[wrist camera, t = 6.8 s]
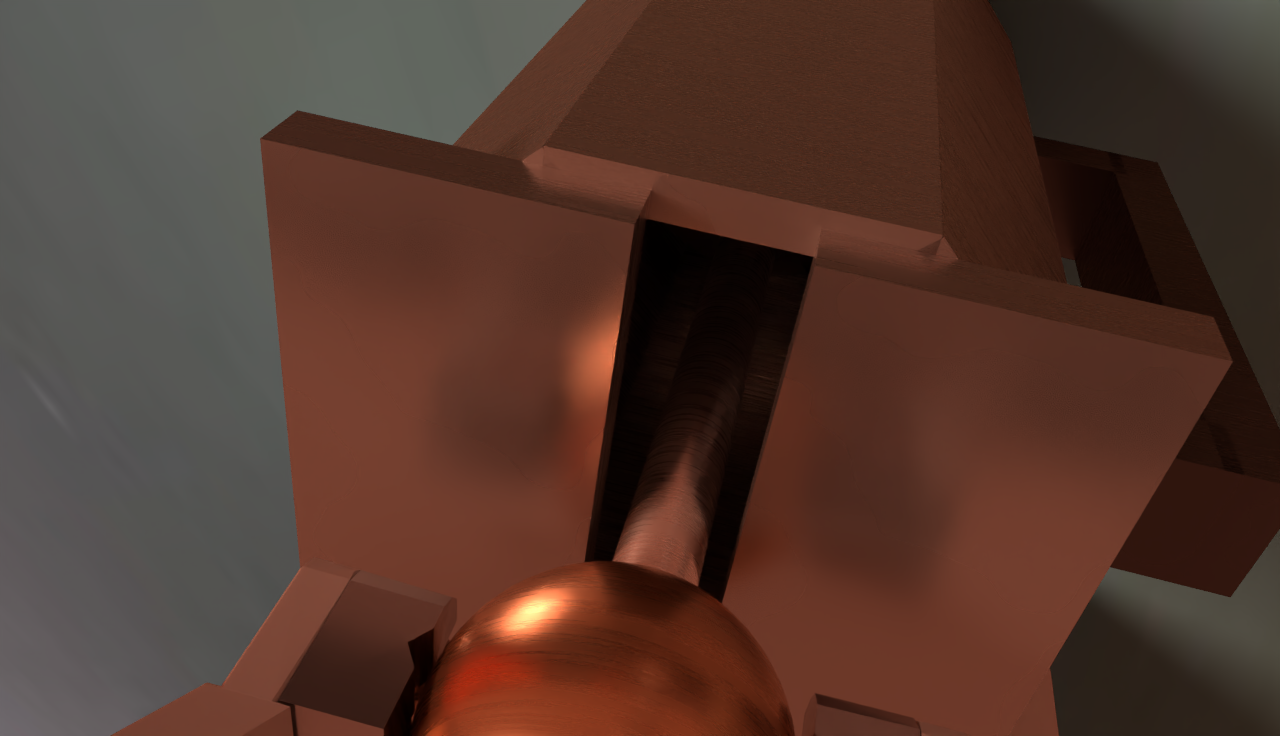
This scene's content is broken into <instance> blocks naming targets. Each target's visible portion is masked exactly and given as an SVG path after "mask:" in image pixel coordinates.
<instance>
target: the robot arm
mask: <svg viewBox="0 0 1280 736" xmlns="http://www.w3.org/2000/svg"><path fill="white" fill-rule="evenodd" d="M456 621H457V598H453V597H450V596H447V595H443V594H440V593H437V592H433V591H430V590H426V589H423V588H420V587H416V586H413V585H410V584H406V583H403V582H400V581H396V580H393V579H389V578H386V577H383V576H379V575H376V574H373V573H369V572H366V571H363V570H359V569H356V568H352V567H349V566H345V565H341V564H338V563H334V562H331V561H327V560H323V559H320V558H316V557H314V558H312V559H311V560H310V561H309V562H308V563H306V564H305V565H304V566H303V567H301V568H300V569H299V571H298V572H297V574H296V575H295V577H294V578H293V580H292V581H291V583H290V584H289V586H288V587H287V589H286V590H285V592H284V593H283V595H282V596H281V598H280V599H279V601H278V602H277V604H276V605H275V607H274V608H273V610H272V611H271V613H270V614H269V616H268V617H267V619H266V620H265V622H264V623H263V625H262V626H261V628H260V629H259V631H258V632H257V634H256V635H255V637H254V638H253V640H252V641H251V643H250V644H249V646H248V647H247V648H246V650H245V651H244V653H243V654H242V656H241V657H240V659H239V660H238V662H237V663H236V665H235V666H234V668H233V669H232V671H231V672H230V674H229V675H228V677H227V678H226V680H225V681H224V683H223V684H222V686H219V685H215V684H211V683H205V684H204V685H202V686H200V687H198V688H196V689H194V690H193V691H191V692H189V693H187V694H185V695H183V696H182V697H180V698H178V699H176V700H174V701H173V702H171V703H169V704H167V705H165V706H163V707H162V708H160V709H158V710H156V711H154V712H153V713H151V714H149V715H147V716H145V717H143V718H142V719H140V720H138V721H136V722H134V723H132V724H131V725H129V726H127V727H125V728H123V729H122V730H120V731H118V732H116V733H114V734H112V735H111V736H409V735H410V730H411V726H412V721H413V717H414V712H415V710H416V707H417V704H418V701H419V698H420V696H421V693H422V691H423V688H424V685H425V683H426V680H427V678H428V676H429V674H430V672H431V670H432V669H433V667H434V665H435V663H436V662H437V660H438V658H439V657H440V655H441V653H442V652H443V650H444V649H445V647H446V645H447V644H448V643H449V642H450V640H449V637H450V634H451V632H452V630H453V628H454V626H455V624H456ZM802 736H970V735H969V734H967V733H964V732H960V731H956V730H952V729H949V728H945V727H941V726H937V725H933V724H929V723H925V722H922V721H915V719H914V718H912V717H908V716H904V715H900V714H896V713H892V712H888V711H885V710H881V709H877V708H873V707H869V706H865V705H861V704H857V703H853V702H849V701H845V700H841V699H837V698H833V697H829V696H826V695H822V694H818V693H815V694H814V695H813V696H812V698H811V699H810V701H809V704H808V706H807V709H806V711H805V714H804V720H803V729H802Z"/></svg>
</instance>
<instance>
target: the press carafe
mask: <svg viewBox="0 0 1280 736" xmlns="http://www.w3.org/2000/svg"><path fill="white" fill-rule="evenodd" d="M260 141H261V152H262V163H263V173H264V184H265V195H266V205H267V216H268V227H269V237H270V248H271V259H272V269H273V280H274V291H275V301H276V312H277V323H278V333H279V344H280V355H281V366H282V376H283V387H284V398H285V408H286V419H287V430H288V440H289V451H290V462H291V472H292V483H293V494H294V504H295V515H296V526H297V536H298V547H299V558H300V568H301V567H303V566H304V565H305V564H306V563H308V562H309V561H310V560H311V559H312V558H314V557H316V558H320V559H323V560H327V561H331V562H334V563H338V564H341V565H345V566H349V567H352V568H356V569H359V570H363V571H366V572H369V573H373V574H376V575H379V576H383V577H386V578H389V579H393V580H396V581H400V582H403V583H406V584H410V585H413V586H416V587H420V588H423V589H426V590H430V591H433V592H437V593H440V594H443V595H447V596H450V597H453V598H457V621H456V624H455V626H454V628H453V630H452V632H451V634H450V637H449V640H451V639H452V638H453V637H454V635H455V634H456V633H457V631H458V630H459V629H460V628H461V627H462V626H463V625H464V624H465V623H466V622H467V621H468V620H469V619H470V617H472V616H473V615H474V614H475V613H476V612H477V611H478V610H479V609H480V608H481V607H482V606H484V605H485V604H486V603H487V602H489V601H490V600H491V599H493V598H494V597H496V596H497V595H499V594H500V593H502V592H503V591H505V590H506V589H508V588H509V587H511V586H512V585H514V584H516V583H518V582H520V581H522V580H524V579H526V578H529V577H531V576H534V575H536V574H539V573H541V572H544V571H547V570H550V569H553V568H556V567H560V566H566V565H571V564H577V563H583V562H595V561H612V560H613V557H614V554H615V551H616V548H617V545H618V542H619V539H620V536H621V533H622V530H623V527H624V524H625V521H626V518H627V515H628V512H629V509H630V506H631V503H632V500H633V497H634V494H635V491H636V488H637V485H638V482H639V479H640V476H641V473H642V470H643V467H644V464H645V461H646V458H647V455H648V452H649V449H650V446H651V443H652V440H653V437H654V434H655V431H656V428H657V425H658V422H659V419H660V416H661V413H662V410H663V407H664V404H665V401H666V398H667V395H668V392H669V389H670V386H671V383H672V380H673V377H674V374H675V371H676V368H677V365H678V362H679V359H680V356H681V353H682V350H683V347H684V344H685V341H686V338H687V335H688V332H689V329H690V326H691V323H692V320H693V317H694V314H695V311H696V308H697V305H698V302H699V299H700V296H701V293H702V290H703V287H704V284H705V281H706V278H707V275H708V272H709V269H710V266H711V263H712V260H713V259H712V258H710V257H708V256H707V255H705V254H703V253H701V252H700V251H698V250H696V249H694V248H693V247H692V246H690V245H689V244H687V243H686V242H685V241H683V240H682V239H681V238H679V237H678V236H677V235H676V234H675V233H674V232H673V231H672V230H671V229H670V228H668V227H667V226H666V225H665V224H664V223H668V224H672V225H677V226H681V227H685V228H690V229H694V230H699V231H703V232H707V233H712V234H716V235H720V236H725V237H729V238H734V239H738V240H742V241H747V242H751V243H756V244H760V245H764V246H769V247H773V248H777V249H782V250H786V251H791V252H795V253H799V254H804V255H808V256H812V257H813V261H812V264H811V268H810V272H809V274H801V275H771V276H770V280H769V285H768V289H767V293H766V298H765V302H764V306H763V311H762V315H761V319H760V323H759V328H758V332H757V336H756V341H755V345H754V349H753V353H752V358H751V362H750V366H749V371H748V375H747V379H746V383H745V388H744V392H743V396H742V401H741V405H740V409H739V413H738V418H737V422H736V426H735V431H734V435H733V439H732V444H731V448H730V452H729V456H728V461H727V465H726V469H725V474H724V478H723V482H722V486H721V491H720V495H719V499H718V504H717V508H716V512H715V516H714V521H713V525H712V529H711V534H710V538H709V542H708V546H707V551H706V555H705V559H704V564H703V568H702V572H701V577H700V581H699V585H698V587H700V588H701V589H703V590H704V591H706V592H707V593H709V594H710V595H712V596H713V597H714V598H715V599H717V600H718V601H719V602H720V603H722V604H723V605H724V606H725V607H726V608H728V609H729V610H730V611H731V612H732V613H733V614H734V615H735V616H736V617H737V618H738V619H739V620H740V621H741V622H742V623H743V624H744V625H745V626H746V627H747V628H748V630H749V631H750V632H751V634H752V635H753V636H754V638H755V639H756V640H757V642H758V643H759V645H760V646H761V647H762V649H763V650H764V651H765V653H766V655H767V657H768V658H769V660H770V662H771V664H772V666H773V667H774V670H775V672H776V674H777V676H778V678H779V680H780V682H781V684H782V687H783V690H784V693H785V695H786V698H787V701H788V705H789V709H790V712H791V716H792V719H793V725H794V731H795V736H802V729H803V720H804V714H805V711H806V709H807V706H808V704H809V701H810V699H811V698H812V696H813V695H814V694H815V693H818V694H822V695H826V696H829V697H833V698H837V699H841V700H845V701H849V702H853V703H857V704H861V705H865V706H869V707H873V708H877V709H881V710H885V711H888V712H892V713H896V714H900V715H904V716H908V717H912V718H914V719H915V721H922V722H925V723H929V724H933V725H937V726H941V727H945V728H949V729H952V730H956V731H960V732H964V733H967V734H969V735H970V736H1009V734H1010V733H1011V731H1012V729H1013V728H1014V726H1015V724H1016V723H1017V721H1018V719H1019V718H1020V716H1021V714H1022V713H1023V711H1024V709H1025V708H1026V706H1027V704H1028V703H1029V701H1030V699H1031V698H1032V696H1033V694H1034V693H1035V691H1036V689H1037V688H1038V686H1039V684H1040V683H1041V681H1042V679H1043V678H1044V676H1045V674H1046V673H1047V671H1048V669H1049V668H1050V666H1051V664H1052V663H1053V661H1054V659H1055V658H1056V656H1057V654H1058V653H1059V651H1060V649H1061V648H1062V646H1063V644H1064V643H1065V641H1066V639H1067V638H1068V636H1069V634H1070V633H1071V631H1072V629H1073V628H1074V626H1075V624H1076V623H1077V621H1078V619H1079V618H1080V616H1081V614H1082V613H1083V611H1084V609H1085V608H1086V606H1087V604H1088V603H1089V601H1090V599H1091V598H1092V596H1093V594H1094V592H1095V591H1096V589H1097V587H1098V586H1099V584H1100V582H1101V581H1102V579H1103V577H1104V576H1105V574H1106V572H1107V571H1108V569H1109V567H1112V568H1116V569H1120V570H1124V571H1128V572H1132V573H1136V574H1140V575H1144V576H1148V577H1152V578H1156V579H1160V580H1164V581H1168V582H1172V583H1176V584H1180V585H1184V586H1188V587H1192V588H1196V589H1200V590H1204V591H1208V592H1212V593H1216V594H1220V595H1224V596H1228V597H1231V596H1232V594H1233V593H1234V591H1235V590H1236V589H1237V587H1238V586H1239V584H1240V583H1241V582H1242V580H1243V579H1244V578H1245V576H1246V575H1247V573H1248V572H1249V571H1250V569H1251V568H1252V566H1253V565H1254V564H1255V562H1256V561H1257V560H1258V558H1259V557H1260V555H1261V554H1262V553H1263V551H1264V550H1265V548H1266V547H1267V546H1268V544H1269V543H1270V541H1271V540H1272V539H1273V537H1274V536H1275V535H1276V533H1277V532H1278V530H1279V529H1280V429H1279V427H1278V425H1277V423H1276V421H1275V418H1274V416H1273V414H1272V412H1271V410H1270V407H1269V405H1268V403H1267V401H1266V399H1265V396H1264V394H1263V392H1262V390H1261V388H1260V386H1259V383H1258V381H1257V379H1256V377H1255V375H1254V372H1253V370H1252V368H1251V366H1250V364H1249V361H1248V359H1247V357H1246V355H1245V353H1244V351H1243V348H1242V346H1241V344H1240V342H1239V340H1238V337H1237V335H1236V333H1235V331H1234V329H1233V327H1232V324H1231V322H1230V320H1229V318H1228V316H1227V313H1226V311H1225V309H1224V307H1223V305H1222V302H1221V300H1220V298H1219V296H1218V294H1217V292H1216V289H1215V287H1214V285H1213V283H1212V281H1211V278H1210V276H1209V274H1208V272H1207V270H1206V267H1205V265H1204V263H1203V261H1202V259H1201V257H1200V254H1199V252H1198V250H1197V248H1196V246H1195V243H1194V241H1193V239H1192V237H1191V235H1190V233H1189V230H1188V228H1187V226H1186V224H1185V222H1184V219H1183V217H1182V215H1181V213H1180V211H1179V208H1178V206H1177V204H1176V202H1175V200H1174V198H1173V195H1172V193H1171V191H1170V189H1169V187H1168V184H1167V182H1166V180H1165V178H1164V176H1163V174H1162V171H1161V169H1160V167H1159V165H1158V163H1157V162H1153V161H1149V160H1144V159H1139V158H1134V157H1130V156H1125V155H1120V154H1116V153H1111V152H1106V151H1101V150H1097V149H1092V148H1087V147H1083V146H1078V145H1073V144H1069V143H1064V142H1059V141H1054V140H1050V139H1045V138H1040V137H1036V136H1033V134H1032V129H1031V125H1030V121H1029V116H1028V112H1027V108H1026V103H1025V99H1024V95H1023V90H1022V86H1021V82H1020V77H1019V73H1018V69H1017V64H1016V60H1015V56H1014V51H1013V47H1012V43H1011V41H1010V39H1009V38H1008V36H1007V34H1006V32H1005V30H1004V28H1003V27H1002V25H1001V23H1000V21H999V19H998V18H997V16H996V14H995V12H994V10H993V9H992V7H991V5H990V3H989V1H988V0H586V1H585V2H584V3H583V4H582V6H581V7H580V8H579V9H578V10H577V11H576V12H575V13H574V14H573V15H572V16H571V17H570V19H569V20H568V21H567V22H566V23H565V24H564V25H563V26H562V27H561V28H560V29H559V30H558V32H557V33H556V34H555V35H554V36H553V37H552V38H551V39H550V40H549V41H548V42H547V43H546V45H545V46H544V47H543V48H542V49H541V50H540V51H539V52H538V53H537V54H536V55H535V56H534V58H533V59H532V60H531V61H530V62H529V63H528V64H527V65H526V66H525V67H524V68H523V69H522V71H521V72H520V73H519V74H518V75H517V76H516V77H515V78H514V79H513V80H512V81H511V82H510V84H509V85H508V86H507V87H506V88H505V89H504V90H503V91H502V92H501V93H500V94H499V95H498V97H497V98H496V99H495V100H494V101H493V102H492V103H491V104H490V105H489V106H488V107H487V108H486V110H485V111H484V112H483V113H482V114H481V115H480V116H479V117H478V118H477V119H476V120H475V121H474V122H473V124H472V125H471V126H470V127H469V128H468V129H467V130H466V131H465V132H464V133H463V134H462V135H461V137H460V138H459V139H458V140H457V141H456V142H455V143H454V144H453V145H449V144H444V143H440V142H435V141H431V140H427V139H422V138H418V137H413V136H409V135H404V134H400V133H395V132H391V131H387V130H382V129H378V128H373V127H369V126H364V125H360V124H356V123H351V122H347V121H342V120H338V119H333V118H329V117H325V116H320V115H316V114H311V113H307V112H302V111H298V110H297V111H296V112H295V113H293V114H292V115H291V116H289V117H288V118H287V119H285V120H284V121H283V122H281V123H280V124H279V125H278V126H276V127H275V128H274V129H272V130H271V131H270V132H268V133H267V134H266V135H264V136H263V137H262V138H260ZM1061 257H1063V258H1067V259H1072V260H1075V263H1076V267H1077V271H1078V275H1079V278H1080V282H1081V286H1082V287H1078V286H1074V285H1069V284H1067V281H1066V277H1065V272H1064V268H1063V264H1062V259H1061Z"/></svg>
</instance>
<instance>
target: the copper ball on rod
mask: <svg viewBox="0 0 1280 736" xmlns="http://www.w3.org/2000/svg"><path fill="white" fill-rule="evenodd" d="M664 224H665V225H666V226H667V227H668V228H670V229H671V230H672V231H673V232H674V233H675V234H676V235H677V236H678V237H679V238H681V239H682V240H683V241H685V242H686V243H687V244H689V245H690V246H692V247H693V248H694V249H696V250H698V251H700V252H701V253H703V254H705V255H707V256H708V257H710V258H712V259H713V260H712V263H711V266H710V269H709V272H708V275H707V278H706V281H705V284H704V287H703V290H702V293H701V296H700V299H699V302H698V305H697V308H696V311H695V314H694V317H693V320H692V323H691V326H690V329H689V332H688V335H687V338H686V341H685V344H684V347H683V350H682V353H681V356H680V359H679V362H678V365H677V368H676V371H675V374H674V377H673V380H672V383H671V386H670V389H669V392H668V395H667V398H666V401H665V404H664V407H663V410H662V413H661V416H660V419H659V422H658V425H657V428H656V431H655V434H654V437H653V440H652V443H651V446H650V449H649V452H648V455H647V458H646V461H645V464H644V467H643V470H642V473H641V476H640V479H639V482H638V485H637V488H636V491H635V494H634V497H633V500H632V503H631V506H630V509H629V512H628V515H627V518H626V521H625V524H624V527H623V530H622V533H621V536H620V539H619V542H618V545H617V548H616V551H615V554H614V557H613V560H612V561H595V562H583V563H577V564H571V565H566V566H560V567H556V568H553V569H550V570H547V571H544V572H541V573H539V574H536V575H534V576H531V577H529V578H526V579H524V580H522V581H520V582H518V583H516V584H514V585H512V586H511V587H509V588H508V589H506V590H505V591H503V592H502V593H500V594H499V595H497V596H496V597H494V598H493V599H491V600H490V601H489V602H487V603H486V604H485V605H484V606H482V607H481V608H480V609H479V610H478V611H477V612H476V613H475V614H474V615H473V616H472V617H470V619H469V620H468V621H467V622H466V623H465V624H464V625H463V626H462V627H461V628H460V629H459V630H458V631H457V633H456V634H455V635H454V637H453V638H452V639H451V640H450V642H449V643H448V644H447V645H446V647H445V649H444V650H443V652H442V653H441V655H440V657H439V658H438V660H437V662H436V663H435V665H434V667H433V669H432V670H431V672H430V674H429V676H428V678H427V680H426V683H425V685H424V688H423V691H422V693H421V696H420V698H419V701H418V704H417V707H416V710H415V712H414V717H413V721H412V726H411V730H410V735H409V736H795V731H794V725H793V719H792V716H791V712H790V709H789V705H788V701H787V698H786V695H785V693H784V690H783V687H782V684H781V682H780V680H779V678H778V676H777V674H776V672H775V670H774V667H773V666H772V664H771V662H770V660H769V658H768V657H767V655H766V653H765V651H764V650H763V649H762V647H761V646H760V645H759V643H758V642H757V640H756V639H755V638H754V636H753V635H752V634H751V632H750V631H749V630H748V628H747V627H746V626H745V625H744V624H743V623H742V622H741V621H740V620H739V619H738V618H737V617H736V616H735V615H734V614H733V613H732V612H731V611H730V610H729V609H728V608H726V607H725V606H724V605H723V604H722V603H720V602H719V601H718V600H717V599H715V598H714V597H713V596H712V595H710V594H709V593H707V592H706V591H704V590H703V589H701V588H700V587H698V585H699V581H700V577H701V572H702V568H703V564H704V559H705V555H706V551H707V546H708V542H709V538H710V534H711V529H712V525H713V521H714V516H715V512H716V508H717V504H718V499H719V495H720V491H721V486H722V482H723V478H724V474H725V469H726V465H727V461H728V456H729V452H730V448H731V444H732V439H733V435H734V431H735V426H736V422H737V418H738V413H739V409H740V405H741V401H742V396H743V392H744V388H745V383H746V379H747V375H748V371H749V366H750V362H751V358H752V353H753V349H754V345H755V341H756V336H757V332H758V328H759V323H760V319H761V315H762V311H763V306H764V302H765V298H766V293H767V289H768V285H769V280H770V276H771V275H801V274H809V272H810V268H811V264H812V261H813V257H812V256H808V255H804V254H799V253H795V252H791V251H786V250H782V249H777V248H773V247H769V246H764V245H760V244H756V243H751V242H747V241H742V240H738V239H734V238H729V237H725V236H720V235H716V234H712V233H707V232H703V231H699V230H694V229H690V228H685V227H681V226H677V225H672V224H668V223H664Z"/></svg>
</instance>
